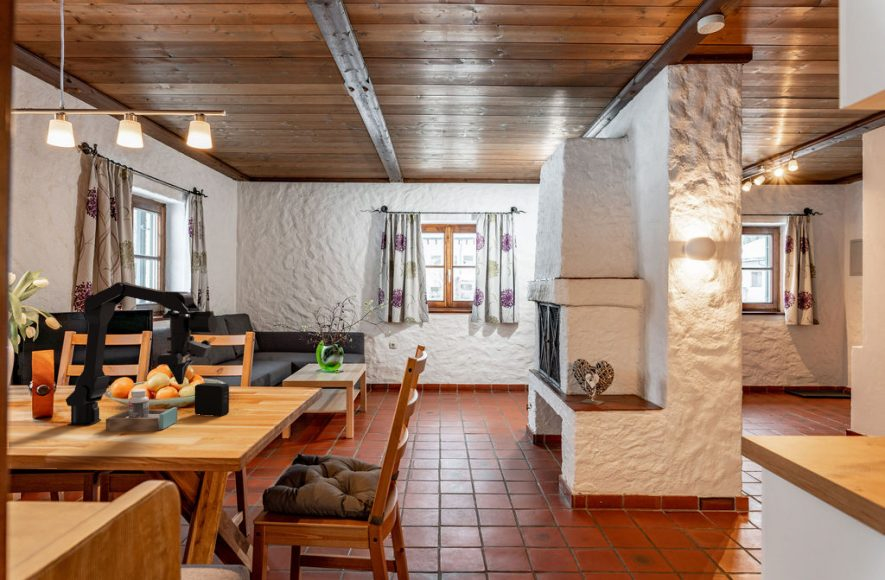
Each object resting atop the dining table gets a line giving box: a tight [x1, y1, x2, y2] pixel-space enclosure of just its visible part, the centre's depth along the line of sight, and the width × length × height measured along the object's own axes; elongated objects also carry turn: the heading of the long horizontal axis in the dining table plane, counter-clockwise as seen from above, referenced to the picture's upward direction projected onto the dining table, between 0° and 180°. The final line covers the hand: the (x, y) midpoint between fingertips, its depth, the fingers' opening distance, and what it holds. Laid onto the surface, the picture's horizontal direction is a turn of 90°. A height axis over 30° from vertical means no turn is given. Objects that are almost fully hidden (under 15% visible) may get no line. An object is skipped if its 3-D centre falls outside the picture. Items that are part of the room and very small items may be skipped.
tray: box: [126, 406, 178, 430], centre depth 166 cm, size 13×9×4 cm
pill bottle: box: [128, 388, 150, 418], centre depth 166 cm, size 5×5×10 cm
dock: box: [105, 409, 168, 432], centre depth 166 cm, size 14×12×4 cm
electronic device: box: [194, 382, 230, 417], centre depth 181 cm, size 4×10×10 cm, turn 78°
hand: (180, 384), depth 166 cm, fingers closed
